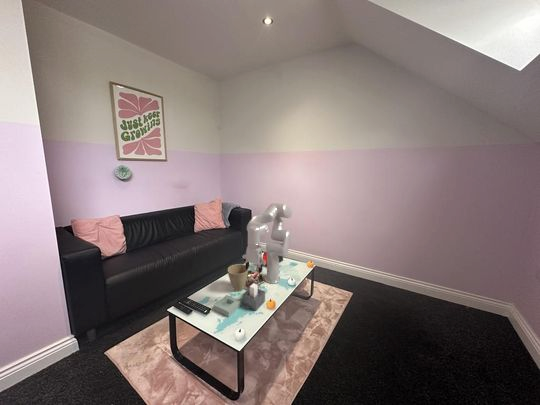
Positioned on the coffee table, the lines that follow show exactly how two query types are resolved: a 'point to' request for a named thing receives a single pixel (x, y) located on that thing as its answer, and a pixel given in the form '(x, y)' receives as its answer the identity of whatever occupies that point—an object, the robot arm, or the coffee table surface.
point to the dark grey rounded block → (253, 299)
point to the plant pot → (238, 276)
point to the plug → (253, 290)
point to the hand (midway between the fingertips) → (253, 270)
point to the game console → (266, 258)
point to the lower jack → (227, 305)
